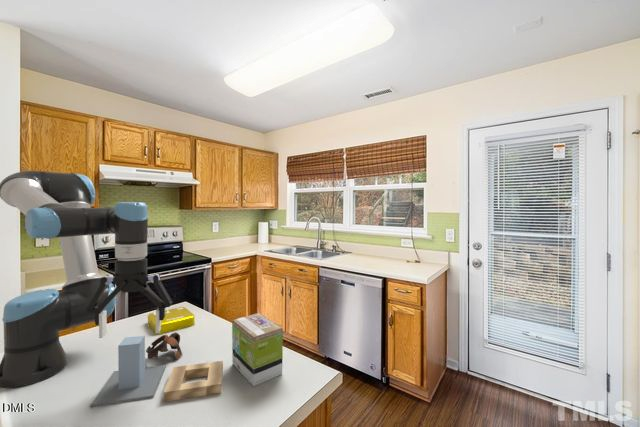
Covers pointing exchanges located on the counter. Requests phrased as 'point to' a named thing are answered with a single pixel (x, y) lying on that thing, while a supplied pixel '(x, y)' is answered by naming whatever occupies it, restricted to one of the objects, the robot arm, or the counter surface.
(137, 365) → the part
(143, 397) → the plate
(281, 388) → the counter surface
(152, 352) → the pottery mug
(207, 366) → the holder
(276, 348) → the tea box
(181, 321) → the element tile
